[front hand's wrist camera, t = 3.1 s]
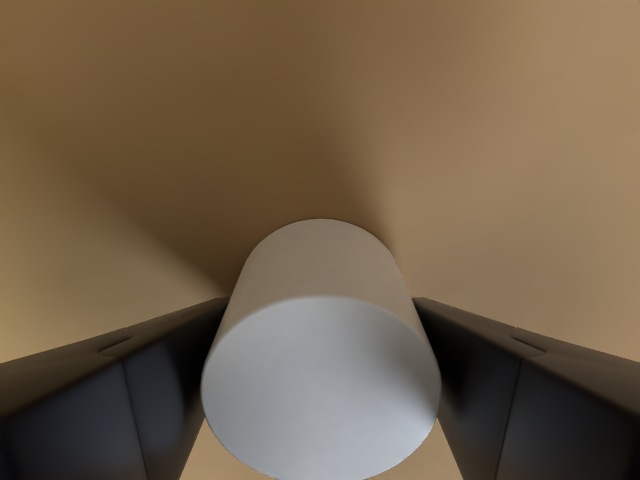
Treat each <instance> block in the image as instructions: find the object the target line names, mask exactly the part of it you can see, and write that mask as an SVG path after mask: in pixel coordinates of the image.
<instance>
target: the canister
mask: <svg viewBox="0 0 640 480" xmlns="http://www.w3.org/2000/svg"><path fill="white" fill-rule="evenodd" d="M200 394H201V402H202V407H203V411H204V415H205V417H206V420H207V422H208V425H209V426H210V428H211V430H212V432H213V433H214V435H215V436H216V438H217V439H218V440H219V442H220V443H221V444H222V445H223V446H224V447H225V448H226V449H227V450H228V451H229V452H230V453H231V454H232V455H233V456H234V457H236V458H237V459H238V460H240V461H241V462H242V463H244V464H246V465H247V466H249V467H251V468H252V469H254V470H256V471H258V472H260V473H263V474H265V475H267V476H270V477H273V478H276V479H279V480H363V479H366V478H369V477H372V476H375V475H377V474H380V473H382V472H384V471H386V470H388V469H390V468H392V467H393V466H395V465H397V464H398V463H400V462H401V461H403V460H404V459H405V458H406V457H408V456H409V455H410V454H411V453H412V452H413V451H414V450H415V449H416V448H417V447H418V446H419V445H420V444H421V443H422V442H423V440H424V439H425V438H426V437H427V435H428V434H429V432H430V430H431V428H432V427H433V425H434V423H435V420H436V418H437V415H438V412H439V408H440V403H441V398H442V381H441V373H440V369H439V366H438V363H437V360H436V357H435V355H434V352H433V350H432V347H431V345H430V343H429V340H428V338H427V335H426V333H425V330H424V328H423V326H422V323H421V321H420V318H419V316H418V313H417V311H416V309H415V306H414V304H413V301H412V299H411V296H410V294H409V292H408V289H407V287H406V284H405V282H404V279H403V277H402V275H401V272H400V270H399V267H398V265H397V263H396V261H395V259H394V257H393V256H392V254H391V253H390V251H389V250H388V249H387V248H386V247H385V245H384V244H383V243H382V242H381V241H379V240H378V239H377V238H376V237H375V236H374V235H372V234H370V233H369V232H367V231H366V230H364V229H362V228H360V227H358V226H355V225H353V224H350V223H347V222H343V221H338V220H333V219H309V220H304V221H298V222H295V223H292V224H289V225H286V226H284V227H282V228H280V229H278V230H276V231H274V232H273V233H271V234H270V235H268V236H267V237H266V238H265V239H263V240H262V241H261V242H260V243H259V244H258V245H257V246H256V247H255V248H254V250H253V251H252V252H251V254H250V255H249V257H248V258H247V260H246V262H245V264H244V267H243V269H242V271H241V274H240V276H239V279H238V281H237V284H236V286H235V289H234V291H233V293H232V296H231V298H230V301H229V303H228V306H227V308H226V311H225V313H224V316H223V318H222V321H221V323H220V326H219V328H218V331H217V333H216V336H215V338H214V341H213V343H212V345H211V348H210V350H209V353H208V355H207V358H206V360H205V363H204V367H203V370H202V374H201V383H200Z"/></svg>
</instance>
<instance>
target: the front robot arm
mask: <svg viewBox="0 0 640 480" xmlns="http://www.w3.org/2000/svg"><path fill="white" fill-rule="evenodd" d="M411 299H412V301H413V304H414V306H415V309H416V311H417V313H418V316H419V318H420V321H421V323H422V326H423V328H424V330H425V333H426V335H427V338H428V340H429V343H430V345H431V347H432V350H433V352H434V355H435V357H436V360H437V363H438V366H439V369H440V373H441V381H442V398H441V403H440V408H439V412H438V415H437V418H438V420H439V422H440V425H441V427H442V429H443V432H444V434H445V437H446V439H447V441H448V444H449V446H450V449H451V451H452V453H453V456H454V458H455V460H456V463H457V465H458V468H459V470H460V472H461V475H462V477H463V480H640V363H639V362H636V361H632V360H629V359H625V358H621V357H618V356H614V355H610V354H607V353H603V352H600V351H596V350H592V349H589V348H585V347H582V346H578V345H574V344H571V343H567V342H564V341H560V340H557V339H553V338H550V337H546V336H543V335H540V334H537V333H534V332H530V331H527V330H524V329H521V328H518V327H517V328H515V327H513V326H510V325H507V324H504V323H501V322H498V321H495V320H492V319H488V318H485V317H482V316H479V315H476V314H473V313H470V312H467V311H464V310H461V309H458V308H455V307H452V306H448V305H445V304H442V303H439V302H436V301H433V300H430V299H427V298H411ZM229 301H230V298H215V299H212V300H209V301H206V302H203V303H200V304H197V305H194V306H191V307H188V308H185V309H181V310H178V311H175V312H172V313H169V314H166V315H163V316H160V317H157V318H154V319H151V320H148V321H145V322H142V323H139V324H136V325H133V326H130V327H128V328H126V327H125V328H122V329H119V330H116V331H112V332H109V333H106V334H103V335H100V336H96V337H93V338H90V339H86V340H83V341H79V342H76V343H72V344H69V345H65V346H62V347H58V348H55V349H51V350H47V351H44V352H40V353H37V354H33V355H29V356H26V357H22V358H19V359H15V360H11V361H8V362H4V363H1V364H0V480H179V479H180V476H181V474H182V471H183V469H184V467H185V464H186V462H187V459H188V457H189V455H190V452H191V450H192V447H193V445H194V442H195V440H196V438H197V435H198V433H199V430H200V428H201V426H202V423H203V421H204V418H205V415H204V411H203V407H202V402H201V394H200V383H201V374H202V370H203V367H204V363H205V360H206V358H207V355H208V353H209V350H210V348H211V345H212V343H213V341H214V338H215V336H216V333H217V331H218V328H219V326H220V323H221V321H222V318H223V316H224V313H225V311H226V308H227V306H228V303H229Z"/></svg>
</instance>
